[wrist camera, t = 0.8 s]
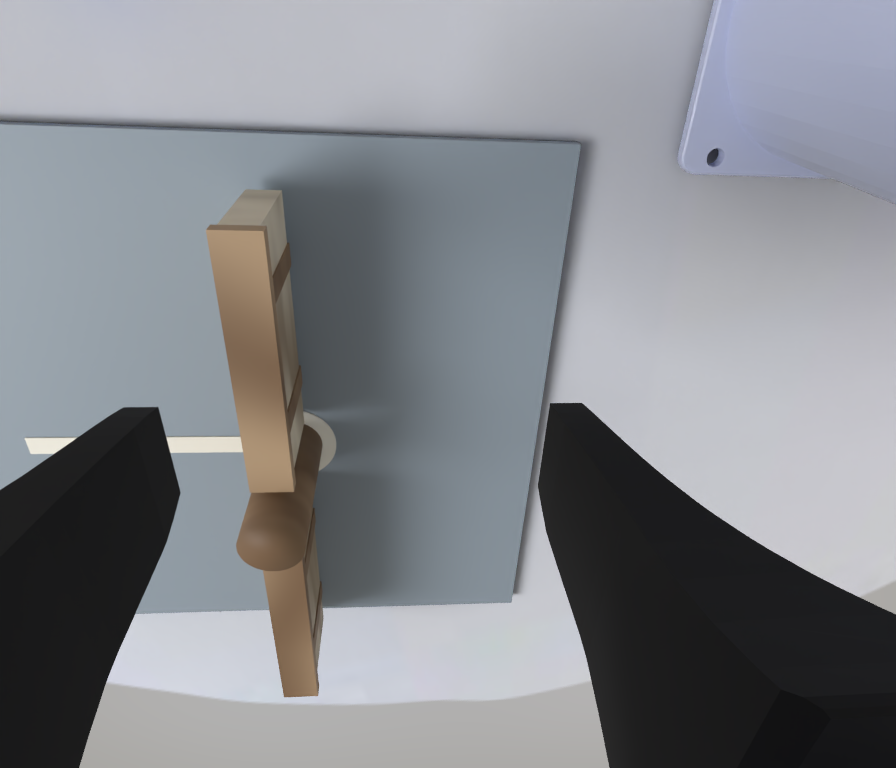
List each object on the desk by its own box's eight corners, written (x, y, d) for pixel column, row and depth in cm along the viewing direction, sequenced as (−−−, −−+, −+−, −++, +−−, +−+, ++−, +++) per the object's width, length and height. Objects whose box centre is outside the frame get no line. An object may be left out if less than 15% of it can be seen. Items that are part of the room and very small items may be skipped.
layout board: (577, 141, 18) (581, 144, 17) (510, 595, 28) (511, 603, 28) (-160, 115, 16) (-174, 118, 16) (59, 608, 27) (54, 617, 26)
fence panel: (309, 420, 21) (293, 492, 18) (271, 420, 21) (249, 492, 18) (287, 189, 17) (263, 230, 14) (240, 188, 17) (205, 230, 14)
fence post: (321, 414, 22) (302, 523, 18) (336, 600, 28) (324, 720, 23) (266, 414, 22) (231, 524, 17) (291, 601, 28) (270, 723, 23)
